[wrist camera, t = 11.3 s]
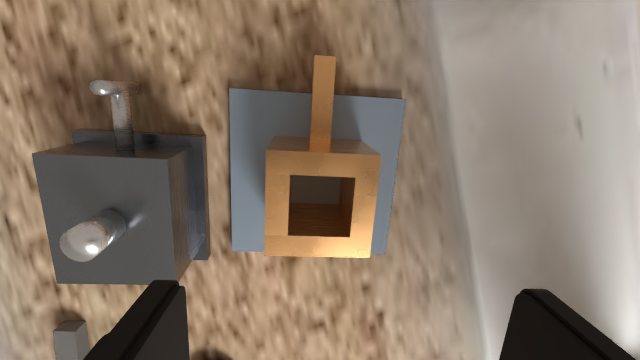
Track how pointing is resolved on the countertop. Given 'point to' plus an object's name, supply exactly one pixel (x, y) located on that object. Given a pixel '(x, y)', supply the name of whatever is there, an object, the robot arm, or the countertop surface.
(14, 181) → the countertop surface
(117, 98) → the grey block
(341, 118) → the rubber pad
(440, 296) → the countertop surface
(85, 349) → the door handle
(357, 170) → the wooden hollow block
